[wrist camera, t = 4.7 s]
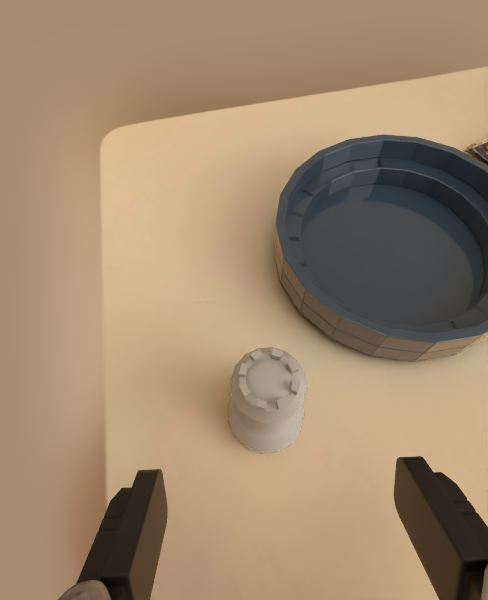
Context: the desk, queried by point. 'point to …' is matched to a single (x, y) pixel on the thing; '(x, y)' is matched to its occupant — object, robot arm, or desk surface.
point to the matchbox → (480, 149)
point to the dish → (388, 246)
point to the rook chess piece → (267, 400)
